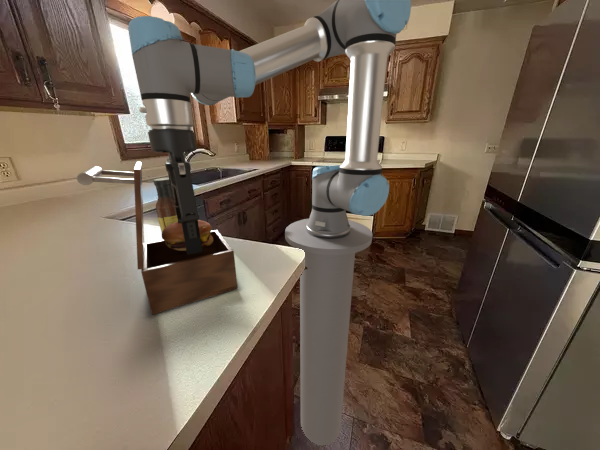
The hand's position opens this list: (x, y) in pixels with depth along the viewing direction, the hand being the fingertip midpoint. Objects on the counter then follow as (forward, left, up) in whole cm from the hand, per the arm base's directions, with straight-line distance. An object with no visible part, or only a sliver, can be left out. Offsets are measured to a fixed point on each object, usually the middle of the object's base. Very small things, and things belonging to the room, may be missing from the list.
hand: (190, 242), depth 51 cm
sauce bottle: (+2, -20, -9) cm, 22 cm away
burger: (0, 0, 0) cm, 0 cm away
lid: (+7, +1, +8) cm, 11 cm away
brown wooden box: (+1, +1, -9) cm, 9 cm away
